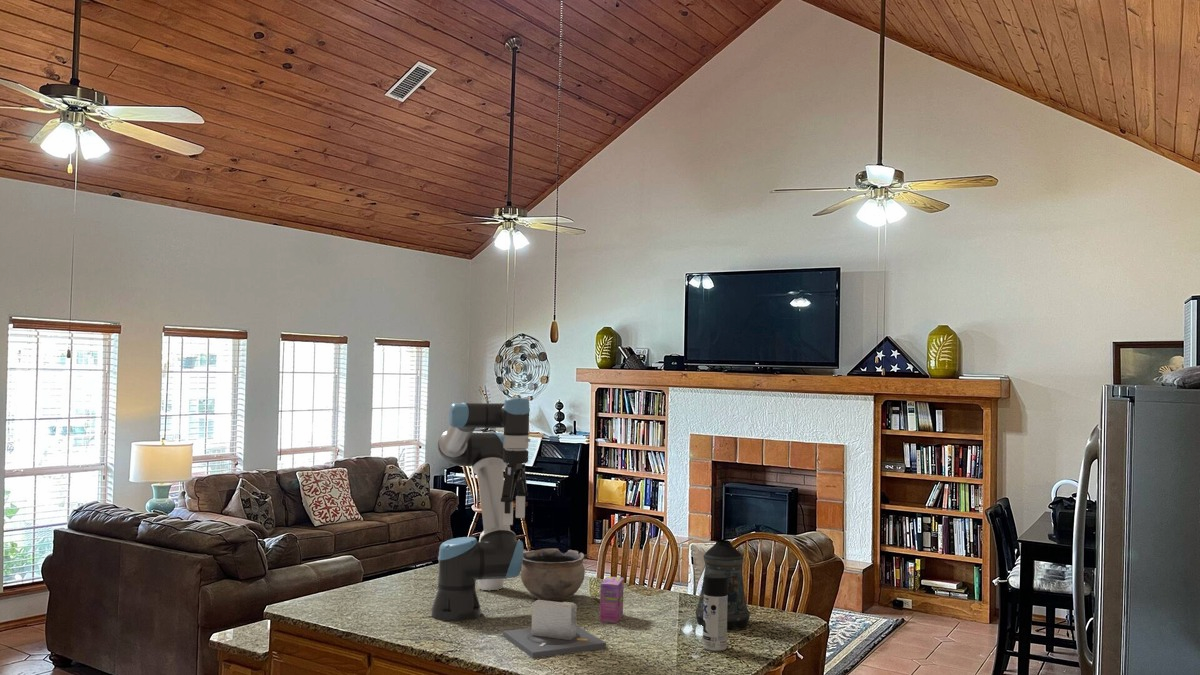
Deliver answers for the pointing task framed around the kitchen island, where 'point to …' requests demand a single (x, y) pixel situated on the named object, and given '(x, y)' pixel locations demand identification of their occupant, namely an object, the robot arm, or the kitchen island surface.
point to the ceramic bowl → (552, 573)
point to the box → (611, 599)
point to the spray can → (715, 612)
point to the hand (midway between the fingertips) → (514, 521)
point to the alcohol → (489, 580)
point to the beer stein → (728, 563)
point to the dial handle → (554, 619)
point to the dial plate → (552, 643)
